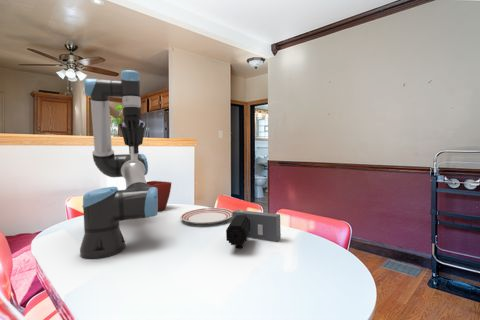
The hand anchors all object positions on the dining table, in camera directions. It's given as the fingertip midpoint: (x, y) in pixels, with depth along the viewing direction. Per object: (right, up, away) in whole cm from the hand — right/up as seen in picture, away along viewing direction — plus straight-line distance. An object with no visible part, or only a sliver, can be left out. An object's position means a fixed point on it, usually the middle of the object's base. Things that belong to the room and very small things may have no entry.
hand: (134, 161), depth 121 cm
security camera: (+47, -32, -16) cm, 59 cm away
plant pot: (-8, -31, +47) cm, 57 cm away
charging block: (+53, -31, -7) cm, 62 cm away
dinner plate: (+30, -31, +22) cm, 48 cm away
